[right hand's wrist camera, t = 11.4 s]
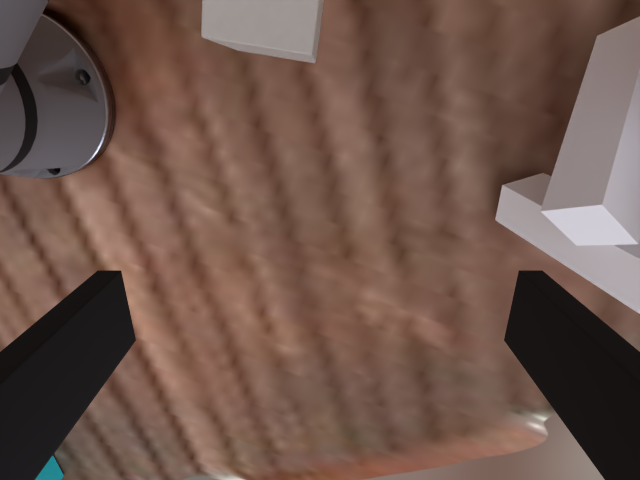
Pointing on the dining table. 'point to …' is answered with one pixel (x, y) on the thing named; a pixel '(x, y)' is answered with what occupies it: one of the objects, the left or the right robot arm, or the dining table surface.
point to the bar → (265, 26)
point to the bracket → (50, 471)
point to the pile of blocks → (592, 176)
